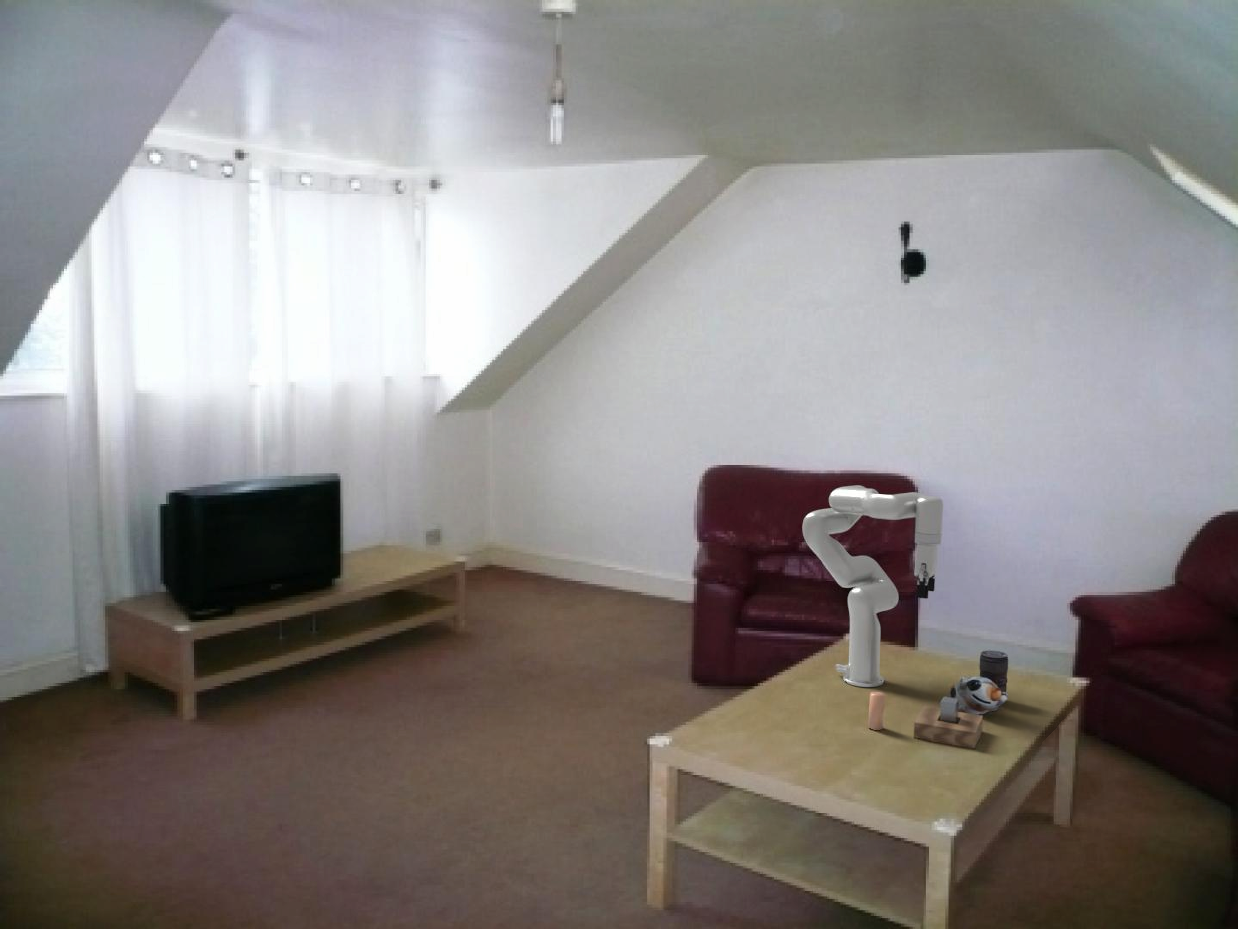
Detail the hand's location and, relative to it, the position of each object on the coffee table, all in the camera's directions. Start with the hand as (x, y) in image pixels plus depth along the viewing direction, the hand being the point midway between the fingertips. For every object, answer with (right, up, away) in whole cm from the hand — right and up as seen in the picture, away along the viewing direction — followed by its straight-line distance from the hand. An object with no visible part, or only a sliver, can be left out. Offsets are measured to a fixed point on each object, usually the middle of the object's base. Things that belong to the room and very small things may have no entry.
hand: (925, 594), depth 308 cm
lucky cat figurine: (+15, -34, -3) cm, 37 cm away
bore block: (0, -36, -22) cm, 42 cm away
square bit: (0, -36, -21) cm, 42 cm away
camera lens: (+22, -33, +5) cm, 40 cm away
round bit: (-19, -36, -17) cm, 44 cm away
